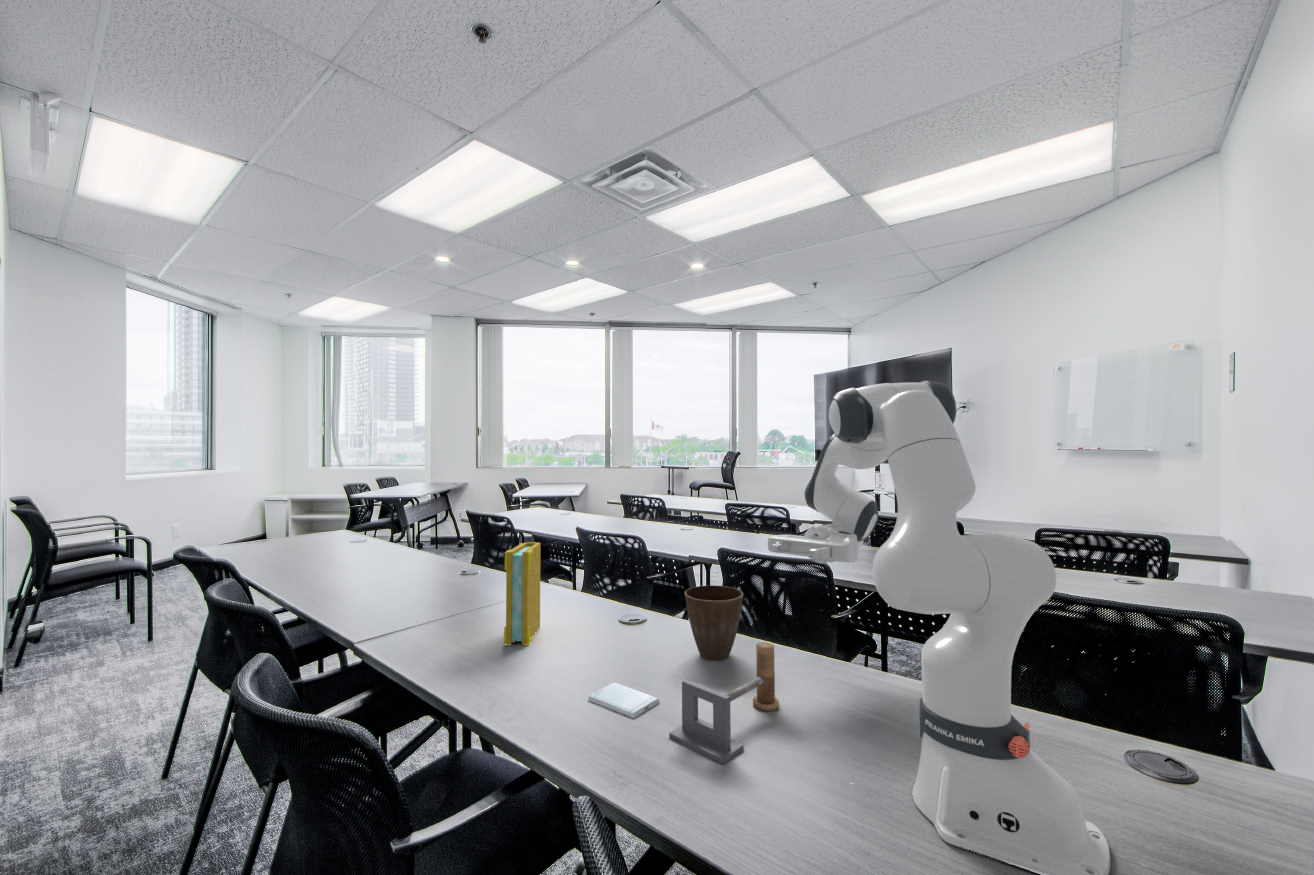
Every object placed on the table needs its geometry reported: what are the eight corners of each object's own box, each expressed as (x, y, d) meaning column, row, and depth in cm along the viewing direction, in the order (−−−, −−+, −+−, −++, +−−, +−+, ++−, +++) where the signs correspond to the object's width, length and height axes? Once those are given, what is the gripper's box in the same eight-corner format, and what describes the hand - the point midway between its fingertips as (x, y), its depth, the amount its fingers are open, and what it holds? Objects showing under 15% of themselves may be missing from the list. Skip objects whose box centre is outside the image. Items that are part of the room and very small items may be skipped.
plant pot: (738, 670, 123) (737, 602, 124) (678, 662, 128) (677, 597, 128) (748, 648, 137) (747, 587, 138) (693, 642, 142) (693, 583, 143)
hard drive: (588, 695, 108) (633, 712, 101) (614, 681, 115) (659, 696, 107) (588, 703, 108) (633, 721, 101) (614, 689, 115) (659, 705, 107)
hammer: (783, 705, 106) (783, 645, 106) (734, 737, 94) (733, 670, 94) (762, 696, 109) (761, 639, 110) (711, 727, 97) (711, 662, 98)
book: (528, 645, 140) (529, 552, 141) (504, 645, 140) (504, 552, 141) (543, 625, 157) (543, 542, 158) (521, 625, 157) (521, 542, 158)
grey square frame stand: (743, 749, 90) (743, 693, 90) (722, 764, 85) (722, 705, 86) (690, 724, 98) (690, 673, 98) (669, 737, 94) (669, 683, 94)
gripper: (784, 527, 133) (753, 532, 123) (863, 534, 119) (836, 541, 109) (784, 552, 133) (754, 559, 123) (864, 562, 118) (837, 572, 109)
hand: (793, 551), depth 116 cm, fingers open, 8 cm apart
